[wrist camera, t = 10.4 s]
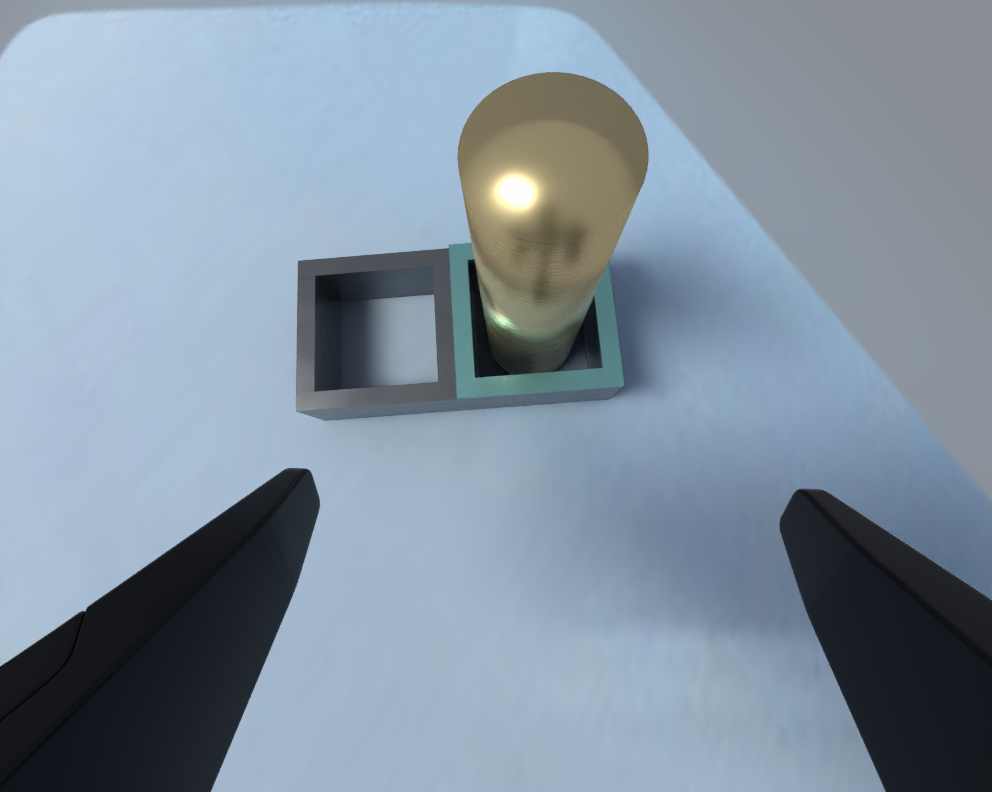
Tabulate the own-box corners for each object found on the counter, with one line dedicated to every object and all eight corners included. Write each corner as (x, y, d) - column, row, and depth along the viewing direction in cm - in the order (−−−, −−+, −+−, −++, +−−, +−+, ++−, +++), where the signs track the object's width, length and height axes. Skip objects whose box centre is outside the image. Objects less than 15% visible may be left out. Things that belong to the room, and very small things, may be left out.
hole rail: (592, 266, 23) (604, 231, 20) (608, 399, 22) (624, 385, 19) (325, 288, 24) (295, 257, 20) (324, 420, 22) (292, 410, 19)
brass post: (583, 364, 22) (676, 208, 10) (502, 388, 22) (487, 263, 10) (557, 288, 23) (611, 51, 10) (479, 311, 23) (436, 101, 10)
